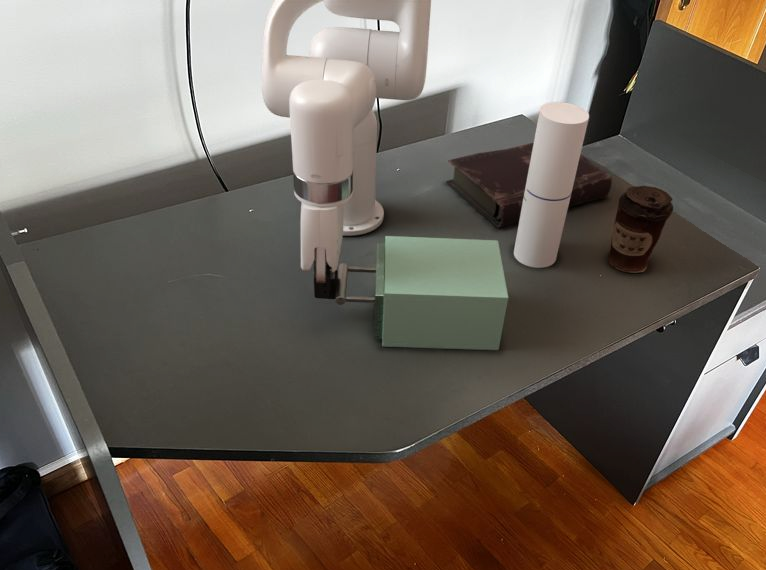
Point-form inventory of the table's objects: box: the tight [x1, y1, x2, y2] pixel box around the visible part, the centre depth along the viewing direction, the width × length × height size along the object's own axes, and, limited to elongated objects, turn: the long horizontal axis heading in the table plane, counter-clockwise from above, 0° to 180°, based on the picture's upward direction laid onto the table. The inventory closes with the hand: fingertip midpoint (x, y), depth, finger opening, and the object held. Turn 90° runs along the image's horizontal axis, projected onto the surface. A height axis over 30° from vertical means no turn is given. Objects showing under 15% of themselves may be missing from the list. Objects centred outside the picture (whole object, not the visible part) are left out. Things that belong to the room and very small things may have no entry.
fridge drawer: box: [334, 242, 385, 340], centre depth 106 cm, size 21×12×8 cm, turn 91°
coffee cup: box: [608, 185, 674, 274], centre depth 119 cm, size 9×8×13 cm
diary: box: [445, 142, 613, 229], centre depth 137 cm, size 19×25×5 cm
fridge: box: [381, 235, 509, 351], centre depth 107 cm, size 17×14×10 cm
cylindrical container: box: [513, 101, 590, 269], centre depth 115 cm, size 7×7×25 cm
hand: (326, 295), depth 106 cm, fingers closed
